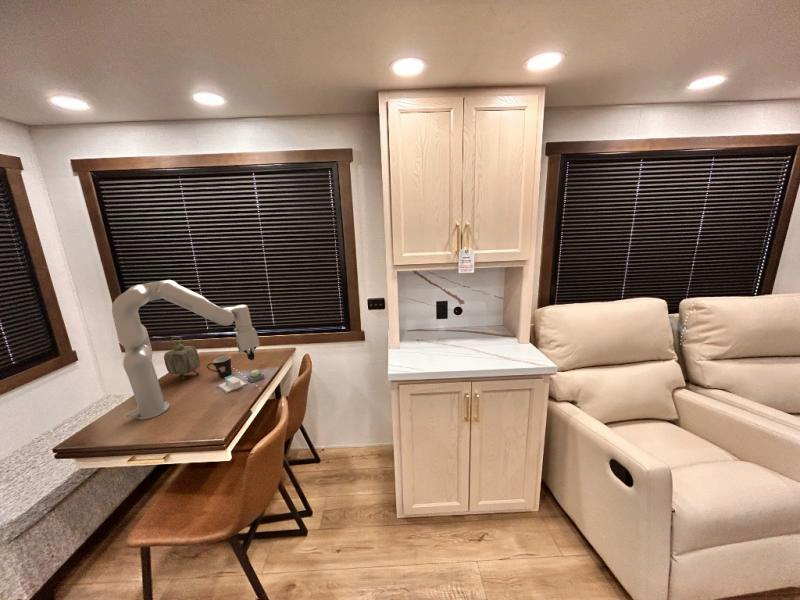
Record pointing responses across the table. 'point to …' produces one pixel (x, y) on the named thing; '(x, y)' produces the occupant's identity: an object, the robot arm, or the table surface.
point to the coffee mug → (222, 366)
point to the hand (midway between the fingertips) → (251, 359)
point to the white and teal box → (233, 382)
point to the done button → (254, 373)
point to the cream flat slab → (228, 389)
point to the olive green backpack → (182, 359)
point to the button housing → (255, 377)
